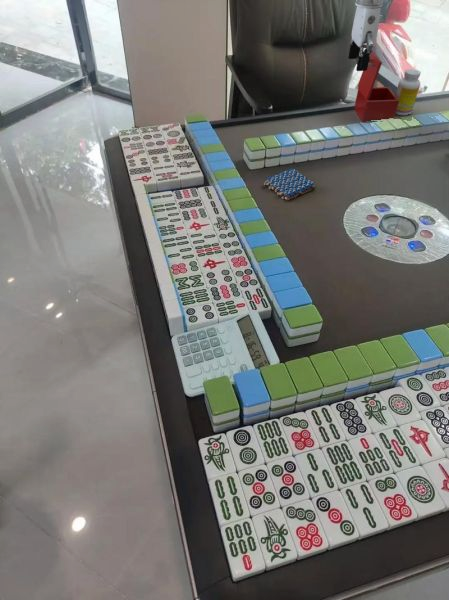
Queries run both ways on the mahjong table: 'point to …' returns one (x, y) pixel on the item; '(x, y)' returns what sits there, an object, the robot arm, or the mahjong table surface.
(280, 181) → the woven mat
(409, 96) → the supplement bottle
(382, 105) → the box
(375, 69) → the lid
